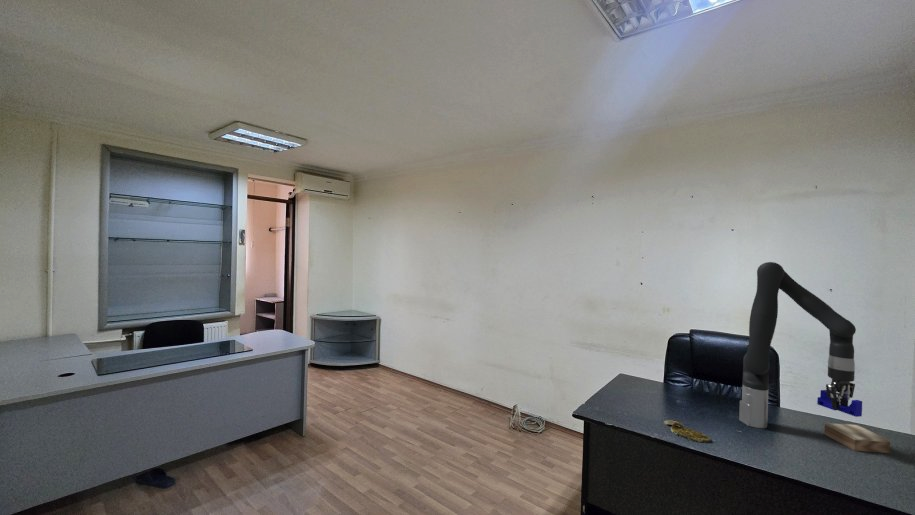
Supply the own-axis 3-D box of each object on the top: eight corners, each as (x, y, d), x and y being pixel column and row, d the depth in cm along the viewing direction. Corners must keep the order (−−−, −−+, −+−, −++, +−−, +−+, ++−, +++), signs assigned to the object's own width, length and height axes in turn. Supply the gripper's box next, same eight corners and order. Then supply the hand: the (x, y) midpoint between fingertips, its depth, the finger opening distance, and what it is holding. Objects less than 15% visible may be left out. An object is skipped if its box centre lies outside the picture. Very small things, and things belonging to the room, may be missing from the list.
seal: (712, 440, 153) (671, 428, 162) (712, 429, 153) (672, 418, 162) (711, 447, 145) (668, 434, 155) (711, 435, 146) (669, 423, 155)
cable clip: (817, 404, 154) (817, 390, 153) (825, 403, 154) (826, 389, 154) (853, 417, 142) (853, 402, 142) (861, 416, 143) (862, 401, 143)
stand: (854, 450, 145) (854, 438, 144) (824, 434, 157) (824, 423, 157) (889, 452, 143) (890, 440, 143) (856, 436, 156) (857, 424, 156)
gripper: (841, 371, 142) (840, 414, 142) (864, 368, 146) (863, 410, 146) (817, 365, 149) (816, 406, 149) (840, 363, 153) (839, 403, 153)
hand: (839, 408), depth 148 cm, fingers closed on cable clip, 4 cm apart
